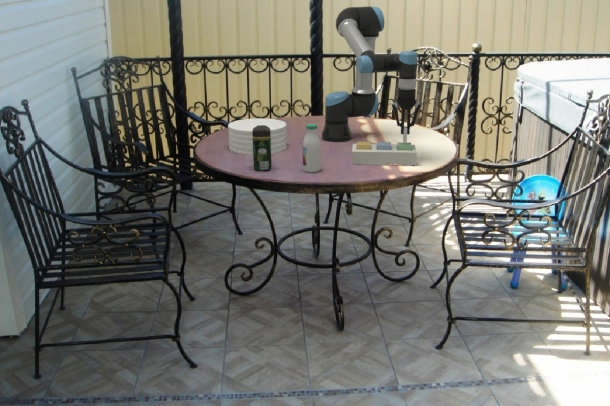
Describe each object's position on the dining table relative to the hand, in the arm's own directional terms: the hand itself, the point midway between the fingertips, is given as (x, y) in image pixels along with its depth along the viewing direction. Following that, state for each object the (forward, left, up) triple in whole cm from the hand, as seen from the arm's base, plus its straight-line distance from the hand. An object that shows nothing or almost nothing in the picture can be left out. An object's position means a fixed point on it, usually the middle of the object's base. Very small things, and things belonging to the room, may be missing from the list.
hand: (404, 141), depth 293 cm
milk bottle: (-40, -17, -9) cm, 44 cm away
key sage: (0, 0, -5) cm, 5 cm away
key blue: (-9, 0, -5) cm, 10 cm away
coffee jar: (-62, -15, -9) cm, 64 cm away
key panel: (-9, 0, -9) cm, 13 cm away
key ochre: (-18, 0, -5) cm, 19 cm away
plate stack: (-69, +21, -10) cm, 73 cm away
